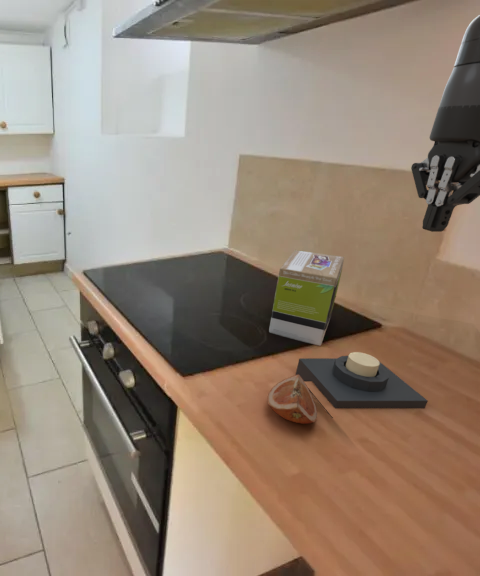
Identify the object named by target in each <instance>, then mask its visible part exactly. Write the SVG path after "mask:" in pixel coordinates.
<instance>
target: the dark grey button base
mask: <svg viewBox="0 0 480 576" xmlns="http://www.w3.org/2000/svg"><path fill="white" fill-rule="evenodd" d="M348 356H349V355H341V356H339V357H336V358H335V357H333V358H331V357H329V358H324V357H323V358H321V357H319V358H313V357H312V358H311V357H310V358H306V357H305V358H304V357H303V358H301V357H300V358H299V359H298V363H297V366H296V370H295V375H298V374H299V375H300V376H301V378H302V379H303V380H304V382H305V383H306V382H312V384H313V385H314V386H315V388H317V390H318V391H319V392H320V393H321V394H322V395H323V397H325V399H326V400H327V401H328V402H329V403H330V405H332V407H333V408H334V409H425V408H426V406H427V404H428V399H427V398H425V397H424V396H423V395H421V394H420V393H419V392H418V391H416V390H415V389H414V388H413V387H411V386H410V385H409V384H408V383H407V382H405V381H404V380H403V379H402V378H401V377H399V376H398V375H397V374H396V373H395V372H394V371H392V370H391V369H390V368H388V367H387V366H386V365H385V364H383V363H382V362H381V361H379V362H380V365H379V368H378V371H377V374H376V376H375V377H365V376H361V375H357V374H355V373H353V372H351V371H349V370H348V369H347V368H346V362H347V359H348ZM308 389H309V391H310V393H311V395H312V397H314V398H315V400H316V401H317V402H318V403H319V404H320V406H321V407H322V408H323V409H324V411H326V413H327V414H328V415H329V416H330V418H331V419H334V417H333V416H332V415H331V413H330V412H329V411H328V410H327V409H326V408H325V406H324V405H323V404H322V403H321V402H320V400H319V399H318V398H317V397H316V395H315V394H314V393H313V392H312V391H311V390H310V388H309V387H308Z"/></svg>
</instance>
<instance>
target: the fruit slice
mask: <svg viewBox="0 0 480 576" xmlns="http://www.w3.org/2000/svg"><path fill="white" fill-rule="evenodd" d="M308 388H309V387H308V386H307V384H306V382H304V380H303V379H302V378H301V376H300V375H299V374H298V375H296V374H294V375H292V376H288V377H287V378H284V379H282V380H281V381H279V382H277V383H276V384H275V385H274V386H273V387H272V388H271V389H270V391H269V392H268V395H267V403H268V405H269V407H270V409H272V411H273V412H274V413H276V414H277V415H278V416H280V417H281V418H283V419H285V420H287V421H290V422H293V423H296V424H307V425H308V424H312V423H315V422H317V419H318V409H317V406H316V403H315V400H314V398H313V397H314V396H313V394H312V393H311V392H310V391H311V390H310V388H309V389H308ZM309 390H310V391H309Z"/></svg>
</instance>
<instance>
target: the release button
mask: <svg viewBox="0 0 480 576" xmlns="http://www.w3.org/2000/svg"><path fill="white" fill-rule="evenodd" d="M347 356H348V359H347V362H346V368H347V369H348V370H349V371H351V372H353V373H355V374H357V375H361V376H365V377H375V376H376V374H377V371H378V368H379V365H380V362H381V361H379V359H378V358H377V357H375V356H373V355H371V354H368V353H365V352H361V351H353V352H350V353H349V354H348V355H347Z"/></svg>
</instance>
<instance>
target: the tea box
mask: <svg viewBox="0 0 480 576" xmlns="http://www.w3.org/2000/svg"><path fill="white" fill-rule="evenodd" d="M344 262H345V256H340V255H333V254H326V253H318V252H312V251H311V252H310V251H305V250H303V251H302V250H297V249H295V250H293V252H291V254H290V255H289V257H288V258H287V259H286V261H285V262H284V263H282V266H281V267H280V268H279V271H278V276H277V282H276V288H275V293H274V300H273V305H272V310H271V311H272V312H271V316H270V322H269V328H268V332H269V334H272V335H277V336H280V337H284V338H287V339H291V340H295V341H299V342H302V343H307V344H311V345H314V346H319V347H320V346H322V344H323V341H324V337H325V335H326V331H327V329H328V326H329V323H330V320H331V318H332V313H333V309H334V306H335V302H336V301H335V300H336V297H337V294H338V289H339V286H340V281H341V278H342V272H343V266H344Z"/></svg>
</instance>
